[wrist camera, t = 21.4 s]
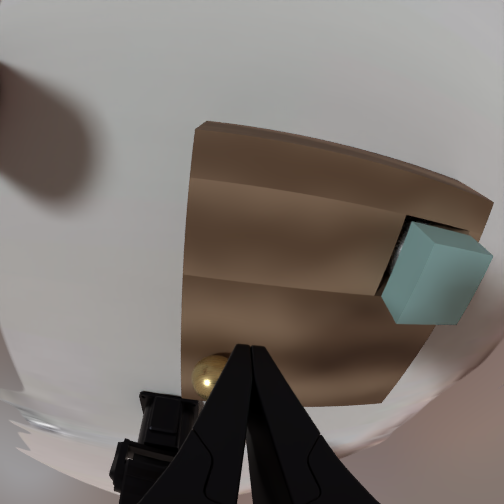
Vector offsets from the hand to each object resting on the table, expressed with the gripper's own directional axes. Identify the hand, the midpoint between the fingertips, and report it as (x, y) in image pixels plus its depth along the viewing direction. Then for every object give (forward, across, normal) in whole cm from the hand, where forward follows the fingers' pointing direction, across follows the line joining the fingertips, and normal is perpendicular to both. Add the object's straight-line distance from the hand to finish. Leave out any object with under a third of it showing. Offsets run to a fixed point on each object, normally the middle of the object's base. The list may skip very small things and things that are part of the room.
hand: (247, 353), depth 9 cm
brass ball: (+6, 0, +10) cm, 11 cm away
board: (+12, -6, +5) cm, 14 cm away
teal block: (+7, -11, 0) cm, 13 cm away
